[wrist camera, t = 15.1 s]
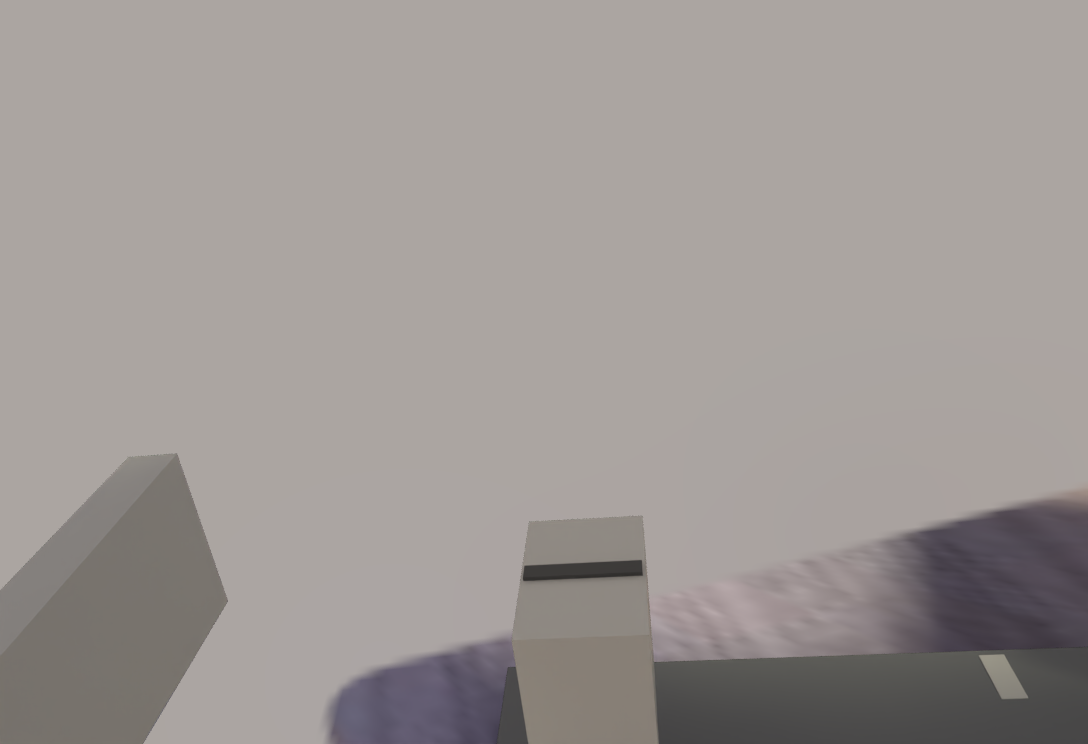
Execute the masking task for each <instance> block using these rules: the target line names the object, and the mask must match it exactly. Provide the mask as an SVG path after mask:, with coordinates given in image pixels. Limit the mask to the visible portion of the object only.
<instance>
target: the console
mask: <svg viewBox="0 0 1088 744" xmlns="http://www.w3.org/2000/svg"><path fill="white" fill-rule="evenodd" d="M654 672H655V688H656V705H657V721H658V737H659V744H1088V647H1073V648H1044V649H1016V650H987V651H959V652H931V653H902V654H874V655H845V656H817V657H788V658H760V659H732V660H703V661H675V662H654ZM497 744H528V739H527V733H526V726H525V720H524V714H523V708H522V702H521V695H520V689H519V683H518V677H517V671H516V667H508V670H507V677H506V683H505V690H504V697H503V704H502V711H501V718H500V724H499V731H498V738H497Z"/></svg>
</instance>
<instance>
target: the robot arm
mask: <svg viewBox="0 0 1088 744" xmlns="http://www.w3.org/2000/svg"><path fill="white" fill-rule="evenodd" d="M227 602H228V600H227V597H226V594H225V591H224V588H223V585H222V582H221V579H220V576H219V574H218V571H217V568H216V565H215V562H214V559H213V556H212V553H211V550H210V548H209V545H208V542H207V539H206V536H205V533H204V530H203V527H202V525H201V522H200V519H199V516H198V513H197V510H196V507H195V504H194V501H193V498H192V496H191V493H190V490H189V487H188V484H187V481H186V478H185V475H184V472H183V470H182V467H181V464H180V461H179V458H178V455H177V454H164V455H151V456H136V457H128V458H127V459H126V460H125V461H124V462H123V463H122V464H121V465H120V467H119V468H118V469H117V470H116V471H115V472H114V473H113V474H112V475H111V476H110V477H109V478H108V479H107V480H106V481H105V482H104V483H103V484H102V485H101V486H100V487H99V488H98V489H97V490H96V491H95V493H93V495H92V496H91V497H90V498H89V499H88V500H87V501H86V502H85V503H84V504H83V505H82V506H81V507H80V508H79V509H78V510H77V511H76V512H75V513H74V514H73V515H72V516H71V518H69V519H68V521H67V522H66V523H65V524H64V525H63V526H62V527H61V528H60V529H59V530H58V531H57V532H56V533H55V534H54V535H53V536H52V537H51V538H50V539H49V540H48V541H47V542H46V544H44V546H43V547H42V548H41V549H40V550H39V551H38V552H37V553H36V554H35V555H34V556H33V557H32V558H31V559H30V560H29V561H28V562H27V563H26V564H25V565H24V566H23V568H22V569H21V570H19V572H17V574H16V575H15V576H14V577H13V578H12V579H11V580H10V581H9V582H8V583H7V584H6V585H5V586H4V587H3V588H2V589H1V590H0V744H143V743H144V741H145V740H146V738H147V736H148V735H149V733H150V731H151V729H152V728H153V726H154V724H155V723H156V721H157V719H158V718H159V716H160V714H161V713H162V711H163V709H164V707H165V706H166V704H167V702H168V701H169V699H170V698H171V696H172V694H173V692H174V691H175V689H176V687H177V686H178V684H179V682H180V681H181V679H182V677H183V676H184V674H185V672H186V671H187V669H188V667H189V666H190V664H191V662H192V661H193V659H194V657H195V655H196V654H197V652H198V650H199V649H200V647H201V645H202V644H203V642H204V640H205V639H206V637H207V635H208V634H209V632H210V630H211V629H212V627H213V625H214V624H215V622H216V620H217V619H218V617H219V615H220V614H221V612H222V610H223V609H224V607H225V605H226V604H227Z"/></svg>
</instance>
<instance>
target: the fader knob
mask: <svg viewBox="0 0 1088 744" xmlns="http://www.w3.org/2000/svg"><path fill="white" fill-rule="evenodd" d="M646 568H647V567H646V554H645V541H644V528H643V516H628V517H609V518H592V519H591V518H590V519H571V520H552V521H535V522H529V525H528V532H527V538H526V545H525V552H524V559H523V566H522V573H521V579H520V586H519V593H518V600H517V607H516V613H515V620H514V627H513V634H512V646H513V652H514V658H515V664H516V671H517V677H518V683H519V689H520V695H521V702H522V708H523V714H524V720H525V726H526V733H527V739H528V744H659V737H658V721H657V705H656V688H655V672H654V658H653V645H652V632H651V619H650V606H649V593H648V580H647V569H646Z"/></svg>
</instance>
